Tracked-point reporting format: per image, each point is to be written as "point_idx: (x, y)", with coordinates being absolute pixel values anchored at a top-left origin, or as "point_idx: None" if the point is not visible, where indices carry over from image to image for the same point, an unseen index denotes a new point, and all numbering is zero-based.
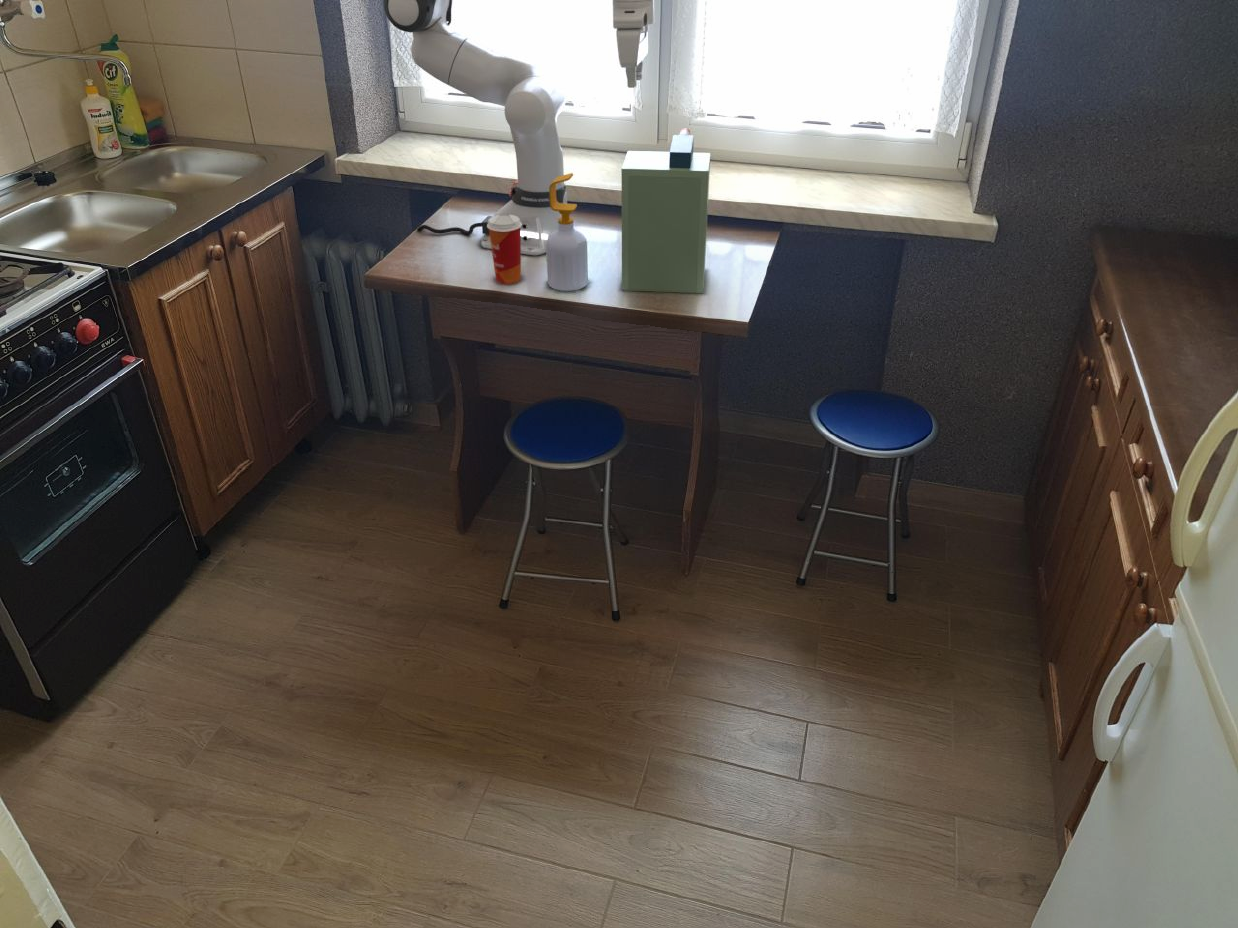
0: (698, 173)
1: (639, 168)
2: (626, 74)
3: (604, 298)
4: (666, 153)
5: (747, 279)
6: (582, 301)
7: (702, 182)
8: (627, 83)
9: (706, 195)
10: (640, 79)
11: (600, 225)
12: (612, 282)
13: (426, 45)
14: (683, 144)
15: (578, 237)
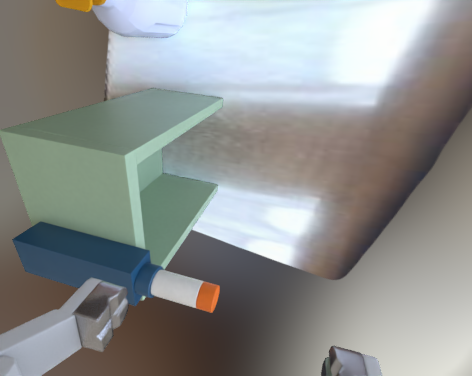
0: None
1: (15, 168)
2: (12, 331)
3: (127, 64)
4: (123, 234)
5: (197, 225)
6: (113, 32)
7: None
8: (78, 290)
9: None
10: (323, 370)
11: (429, 49)
12: (174, 75)
13: None
14: (68, 273)
15: (104, 20)
